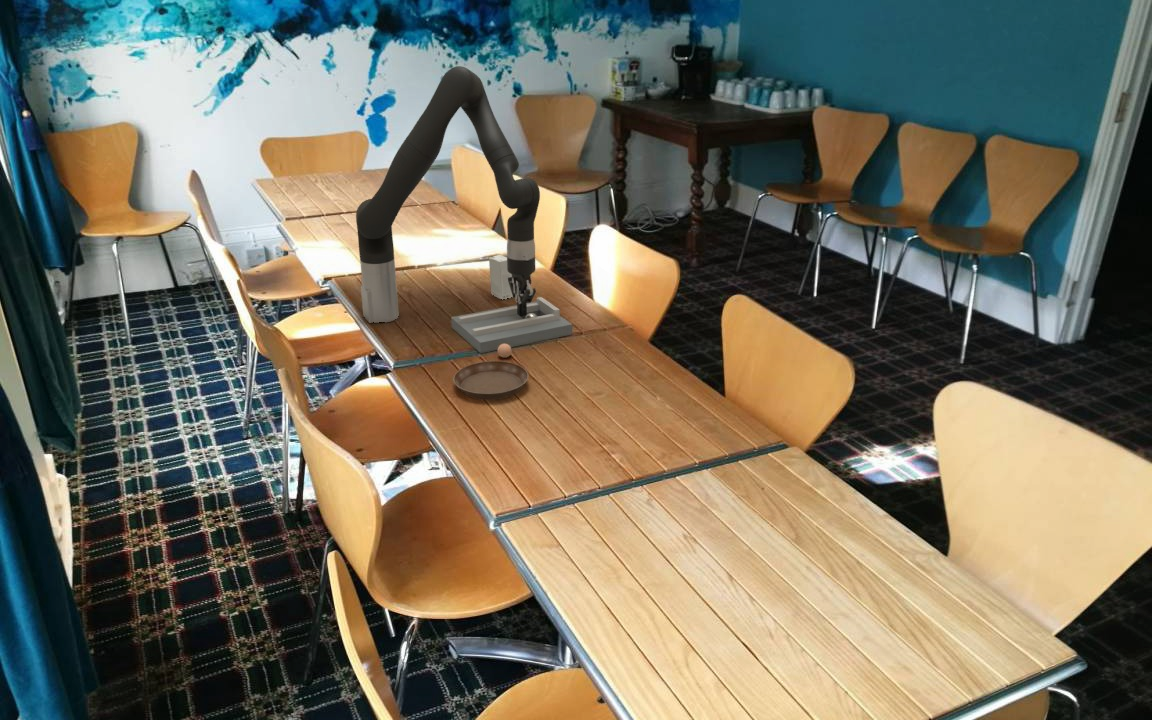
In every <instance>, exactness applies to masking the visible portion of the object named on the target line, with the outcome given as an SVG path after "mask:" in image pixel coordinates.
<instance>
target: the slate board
mask: <svg viewBox="0 0 1152 720" xmlns="http://www.w3.org/2000/svg"><path fill="white" fill-rule="evenodd" d="M535 300H536V301H533V302H532V301H531V303H527V314H529V313H534V314H536V315H537V316H538V317H533V318H527V319H524V318H525V316H519V315H518V314H517V304H516V305H511V306H510V305H509V306H505V307H499V308H494V309H488V310H483V311H478V312H473V313H467V314H461V315H456V316H452V317H450V323H451V329H453V330H454V331H455V332H456V333H457V334H458V335H460V336H461V337H462V339H464V340H465V341H466V342H467V343H468V344H469V345H471V347H473V348H474V349H475V350H476V351H477V352H478V353H479V354H484V353H488V352H489V353H490V352H494V351H497V350H498V347H499V346H500V345H501V344H508V345H509V346H510V347H511V348H513V347H518V346H523V345H527V344H528V345H529V344H532V343H537V342H543V341H547V340H553V339H557V338H562V337H566V336H571V335H573V323H571V322H570V321H568V320H567V319H565V318H564V317H562V316H561V315H560V314H561V313H560V312H561V310H560V309H559V308H558V307H557V306H555V305H554V304H552V303H551V302H549V301H548V300H546V299H545V298H543V297H542V296H540V297H536V299H535Z"/></svg>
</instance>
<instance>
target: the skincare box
mask: <svg viewBox="0 0 1152 720" xmlns="http://www.w3.org/2000/svg"><path fill="white" fill-rule="evenodd" d="M488 262H489V279H490V293H491V294H492V295H491V296H493V295H494V296H493V297H496V298H497V299H499V300H501V299H502V301H504V300H503V299H505V300H508V299H507V298H509V299H512V298H513V295H512V292H511V289H510V285H509V282H508V277H512V274H510V273H509V272H508V271H507V256H503V255H500V254H497V255H493V256H490V257H489V258H488ZM511 297H512V298H511Z"/></svg>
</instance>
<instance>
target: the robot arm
mask: <svg viewBox="0 0 1152 720" xmlns="http://www.w3.org/2000/svg"><path fill="white" fill-rule="evenodd" d="M460 109H462V111H463V112H464V114H466V117H468V118H469V120H470V122H471V124H472V126H473V127H474V130H475V132H476V136H477V138H478V143H479V146H480V149H481V151H482V153H483V155H484V158H485V159H486V161H487V163H488V165H489V166H490V169H491V170H492V172H493V175H494V180H495V183H496V189H497V192H498V196H499V199H500V201H501V202H502V203H503V204H504V206H506V207H507V208H508V209H510V210H515V209H516V212H515V213H514V214H512V215H510V216H509V217H508V219H507V222H506V228H507V230H506V231H507V235H506V236H507V240H506V241H507V242H506V258H507V271H508V272H509V273H510V274H512V277H508V282H509V285H510V289H511V292H512V295H513V297H512V298H514V299H515V302H516V305H517V314H518V315H519V316H526V315H527V303H531V302H532V301H533V299H534V297H535V295H536V293H537V290H536V288H533V286H532V278H531V277H532V276H531V275H532V274H534V273H535V272H536V242H535V221H536V216H537V213H538V208H539V204H540V200H541V193H540V188H539V185H538V183H537V181H535V179H534V178H531V177H523V178H520V179H515V178H514V173H516V171H517V170H518V169H519V166H520V163H519V161H518V158H517V156H516V154H515V153H514V151H513V149H512V148H511V145H510V143H509V141H508V140H507V137H506V136H505V134H504V132H503V131H502V129H501V126H500V124H499V123H498V121H497V118H496V117H495V115H494V112H493V109H492V107H491V104H490V102H489V99H488V95H487V92H486V90H485V86H484V84H483V81H482V79H481V78H480V77H479V76H478V75H477V74H476V73H475V72H473V70H469V68H467V67H465V66H460V65H457V66H454V67H451V68H450V69H448V70H447V71H446V72H445V73H444V74H443V76H442V78H441V80H440V81H439V83H438V85H437V87H436V89H435V91H434V93H433V95H432V97H431V99H430V101H429V103H428V104H427V106H426V108H425V110H424V111H423V113H422V114H421V116H420V117H419V118H418V119H417V121H416V123H415V124H414V126H413V127H412V129H411V130H410V132H409V133H408V135H407V136H406V138H405V139H404V140H403V142H402V144H401V145H400V146H399V148H398V149H397V152H396V153H395V155H394V156H393V159H392V161H391V163H390V165H389V167H388V170H387V173H386V174H385V177H384V179H383V182H382V183H381V185H380V187H379V189H378V190H377V191H376V193H375V194H374V195H373V196H372V198H369V199H365V200H364V201H362V202H361V203H360V204H359V205H358V207H357V209H356V212H355V222H356V229H357V230H356V231H357V237H358V239H357V240H358V253H359V259H360V260H359V263H360V272H361V282H362V284H360V295H361V303H362V304H361V305H362V314H363V315H362V316H363V317H365V318H364V319H365V320H366V321H367V322H368V323H370V324H372V323H373V322H374V323H373V324H375V323H376V324H377V323H378V324H380V323H379V322H385V323H390V322H393V321H396V320H397V319H399V317H398V316H400V315H399V310H400V309H399V300H398V299H399V298H398V288H397V287H398V286H397V275H396V261H395V247H394V240H393V239H394V238H393V228H392V226H393V224H394V222H395V219H396V217H397V216H398V215H399V212H400V210H401V209H402V207H403V205H404V203H405V202H406V201H407V199H408V197H409V196H410V195H411V194H412V192H413V191H414V190H415V189H416V187H417V186H418V185H419V183H420V182H421V181H422V180H423V178H424V177H425V176H426V174H427V172H428V171H429V170H430V169H431V167H432V165H433V164H434V162H435V160H436V159H437V158H438V156H439V155H440V151H441V149H442V146H443V142H444V138H445V134H446V131H447V129H448V126H449V124H450V122H451V120H452V119H453V117H454V116H455V115H456V113H457V112H458V111H459V110H460ZM395 319H396V320H395Z"/></svg>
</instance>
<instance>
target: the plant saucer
mask: <svg viewBox="0 0 1152 720" xmlns="http://www.w3.org/2000/svg"><path fill="white" fill-rule="evenodd" d="M452 379H453V383H454V385H455V386H456V387H457V388H458V389H459V391H460V392H462V393H463V394H464V395H466V396H467V397H470V398H472V399H475V398H476V400H481V399H482V400H481V401H483V400H484V401H494V400H495V399H497V400H502V399H507V398H508V397H512V396H513V395H515V394H517V393H518V392H520V390H521V389H523V387H524V386H525V385H526V383H527V382H528V379H529V372H528V371H527V369H525V367H523V366H522V365H519V364H517V363H513V362H508V361H503V360H488V361H487V360H486V361H480V362H479V361H478V362H475V363H471V364H467V365H466V366H464V367H462V368H460V369H459V370H458V371H456V372H455V374H454V375H453V378H452ZM495 401H496V400H495Z"/></svg>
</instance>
